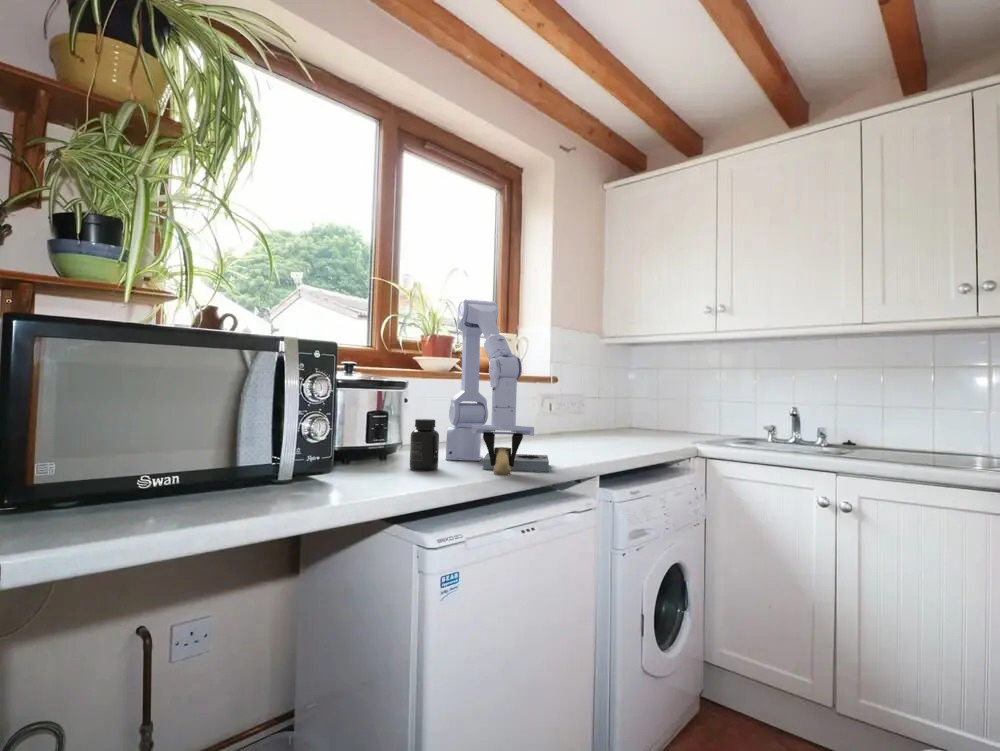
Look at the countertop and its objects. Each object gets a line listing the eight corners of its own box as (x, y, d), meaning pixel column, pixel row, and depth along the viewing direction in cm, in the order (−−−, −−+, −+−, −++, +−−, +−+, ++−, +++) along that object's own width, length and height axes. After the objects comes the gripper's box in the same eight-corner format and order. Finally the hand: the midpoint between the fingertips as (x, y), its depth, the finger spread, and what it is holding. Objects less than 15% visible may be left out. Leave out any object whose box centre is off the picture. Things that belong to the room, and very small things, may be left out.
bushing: (492, 474, 121) (493, 448, 121) (494, 471, 125) (494, 446, 125) (510, 475, 121) (511, 449, 121) (511, 472, 125) (511, 447, 125)
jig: (482, 469, 128) (483, 459, 128) (487, 462, 140) (487, 453, 140) (548, 471, 127) (548, 461, 127) (547, 464, 139) (547, 455, 139)
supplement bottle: (442, 470, 125) (444, 420, 125) (415, 472, 121) (417, 420, 121) (431, 466, 131) (433, 418, 131) (405, 467, 127) (406, 418, 127)
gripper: (471, 407, 120) (469, 466, 119) (534, 409, 119) (533, 469, 118) (474, 406, 127) (473, 462, 126) (534, 407, 126) (533, 464, 125)
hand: (502, 465), depth 123 cm, fingers closed on bushing, 4 cm apart
